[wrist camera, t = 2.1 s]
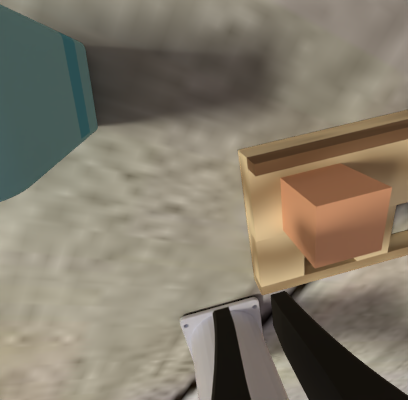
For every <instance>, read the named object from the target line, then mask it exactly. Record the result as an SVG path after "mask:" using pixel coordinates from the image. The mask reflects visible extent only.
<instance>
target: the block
mask: <svg viewBox="0 0 408 400" xmlns="http://www.w3.org/2000/svg"><path fill="white" fill-rule="evenodd" d="M280 182H281V201H282V220H283V231H284V232H285V233H286V234H287V235H288V237H289V238H290V239H291V240H292V242H293V243H294V244H295V245H296V246H297V248H298V249H299V250H300V251H301V252H302V254H303V255H304V256H305V257H306V258H307V260H308V261H309V262H310V263H311V264H312V266H313V267H314V268H319V267H322V266H326V265H330V264H333V263H337V262H341V261H344V260H348V259H352V258H355V257H359V256H363V255H366V254H370V253H373V252H377V251H381V249H382V243H383V238H384V232H385V226H386V220H387V214H388V208H389V203H390V197H391V191H392V187H391V186H388V185H386V184H384V183H382V182H380V181H378V180H375V179H373V178H371V177H369V176H367V175H365V174H362V173H360V172H358V171H356V170H354V169H352V168H349V167H347V166H345V165H343V164H341V163H339V164H334V165H330V166H326V167H322V168H318V169H314V170H310V171H306V172H302V173H298V174H294V175H290V176H286V177H282V178H280Z"/></svg>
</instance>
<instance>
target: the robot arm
mask: <svg viewBox="0 0 408 400" xmlns="http://www.w3.org/2000/svg"><path fill="white" fill-rule="evenodd" d="M271 304H272V315H273V326H274V328H275V331H276V333H277V336H278V339H279V341H280V343H281V346H282V348H283V351H284V353H285V355H286V357H287V359H288V360H289V362H290V364H291V366H292V368H293V370H294V372H295V374H296V376H297V378H298V380H299V382H300V384H301V386H302V387H303V389H304V391H305V393H306V395H307V397H308V399H309V400H408V395H406V394H405V393H404V392H402V391H401V390H399V389H398V388H397V387H395V386H394V385H392V384H391V383H390V382H388V381H387V380H385V379H384V378H383V377H381V376H380V375H379V374H377V373H376V372H375V371H373V370H372V369H371V368H369V367H368V366H367V365H366V364H364V363H363V362H362V361H360V360H359V359H358V358H357V357H355V356H354V355H353V354H352V353H351V352H349V351H348V350H347V349H346V348H345V347H343V346H342V345H341V344H340V343H339V342H338V341H336V340H335V339H334V338H333V337H332V336H331V335H330V334H329V333H327V332H326V331H325V330H324V329H323V328H322V327H321V326H320V325H319V324H318V323H316V322H315V321H314V320H313V319H312V318H311V317H310V316H309V315H308V314H307V313H306V312H305V311H304V310H303V309H302V308H301V307H300V306H299V305H298V304H297V303H296V302H295V301H294V300H293V299H292V298H291V296H290V295H289V294H288V293H287V292H285V291H283V292H280V293H276V294H272V295H271ZM180 324H181V327H182V330H183V333H184V336H185V339H186V342H187V344H188V347H189V350H190V353H191V356H192V359H193V361H194V367H195V375H196V383H197V390H198V398H199V400H289V398H288V396H287V393H286V391H285V389H284V386H283V384H282V381H281V379H280V376H279V374H278V372H277V369H276V367H275V364H274V362H273V359H272V357H271V355H270V352H269V350H268V347H267V345H266V342H265V340H264V338H263V331H262V323H261V315H260V307H259V301H258V299H257V298H256V297H251V298H248V299H244V300H240V301H237V302H233V303H230V304H226V305H222V306H219V307H215V308H212V309H208V310H204V311H201V312H197V313H193V314H190V315H186V316H183V317H181V318H180Z"/></svg>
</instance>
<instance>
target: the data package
mask: <svg viewBox="0 0 408 400" xmlns="http://www.w3.org/2000/svg"><path fill="white" fill-rule="evenodd" d="M97 128H98V125H97V119H96V113H95V106H94V100H93V94H92V88H91V81H90V75H89V69H88V63H87V57H86V50H85V47H84V45H83V44H82V43H81V42H79V41H77V40H74V39H72V38H70V37H68V36H66V35H64V34H62V33H60V32H57V31H55V30H53V29H51V28H49V27H47V26H45V25H43V24H41V23H38V22H36V21H34V20H32V19H30V18H28V17H26V16H24V15H21V14H19V13H17V12H15V11H13V10H11V9H9V8H7V7H5V6H2V5H0V202H1V201H4V200H7V199H9V198H11V197H14V196H16V195H18V194H20V193H21V192H23V191H25V190H26V189H27V188H29V187H30V186H31V185H32V184H34V183H35V182H36V181H37V180H38V179H40V178H41V177H42V176H43V175H44V174H45V173H47V172H48V171H49V170H50V169H51V168H52V167H54V166H55V165H56V164H57V163H58V162H60V161H61V160H62V159H63V158H64V157H65V156H67V155H68V154H69V153H70V152H71V151H72V150H74V149H75V148H76V147H77V146H78V145H80V144H81V143H82V142H83V141H84V140H85V139H87V138H88V137H89V136H90V135H91V134H92V133H94V132H95V131H96V130H97Z"/></svg>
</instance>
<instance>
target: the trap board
mask: <svg viewBox="0 0 408 400" xmlns="http://www.w3.org/2000/svg"><path fill="white" fill-rule="evenodd" d="M238 155H239V163H240V170H241V178H242V186H243V193H244V201H245V209H246V217H247V224H248V232H249V240H250V248H251V255H252V263H253V271H254V279H255V281H256V283H257V285H258V287H259V289H260V292H261V294H262V295H265V294H269V293H272V292H276V291H279V290H283V289H287V288H290V287H294V286H297V285H301V284H305V283H308V282H312V281H315V280H319V279H323V278H326V277H330V276H333V275H337V274H341V273H344V272H348V271H351V270H355V269H359V268H362V267H366V266H370V265H373V264H377V263H380V262H384V261H388V260H391V259H395V258H398V257H402V256H406V255H408V230H406V231H402V232H399V233H395V234H391V231H392V226H393V220H394V215H395V210H396V205H399V204H402V203H406V202H408V110H405V111H400V112H396V113H392V114H388V115H384V116H379V117H375V118H371V119H367V120H362V121H358V122H354V123H350V124H345V125H341V126H337V127H333V128H329V129H324V130H320V131H316V132H312V133H307V134H303V135H299V136H295V137H290V138H286V139H282V140H278V141H274V142H269V143H265V144H261V145H257V146H252V147H248V148H244V149H240V150H238ZM339 163H341V164H343V165H345V166H347V167H349V168H352V169H354V170H356V171H358V172H360V173H362V174H365V175H367V176H369V177H371V178H373V179H375V180H378V181H380V182H382V183H384V184H386V185H388V186H391V187H392V191H391V197H390V203H389V208H388V214H387V220H386V226H385V232H384V238H383V243H382V249H381V251H377V252H373V253H370V254H366V255H363V256H359V257H355V258H352V259H348V260H344V261H341V262H337V263H333V264H330V265H326V266H322V267H319V268H314V267H313V266H312V264H311V263H310V262H309V261H308V260H307V258H304V255H303V254H302V252H301V251H300V250H299V249H298V248H297V246H296V245H295V244H294V243H293V242H292V240H291V239H290V238H289V237H288V235H287V234H286V233H285V232H284V231H283V220H282V201H281V182H280V178H282V177H286V176H290V175H294V174H298V173H302V172H306V171H310V170H314V169H318V168H322V167H326V166H330V165H334V164H339Z"/></svg>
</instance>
